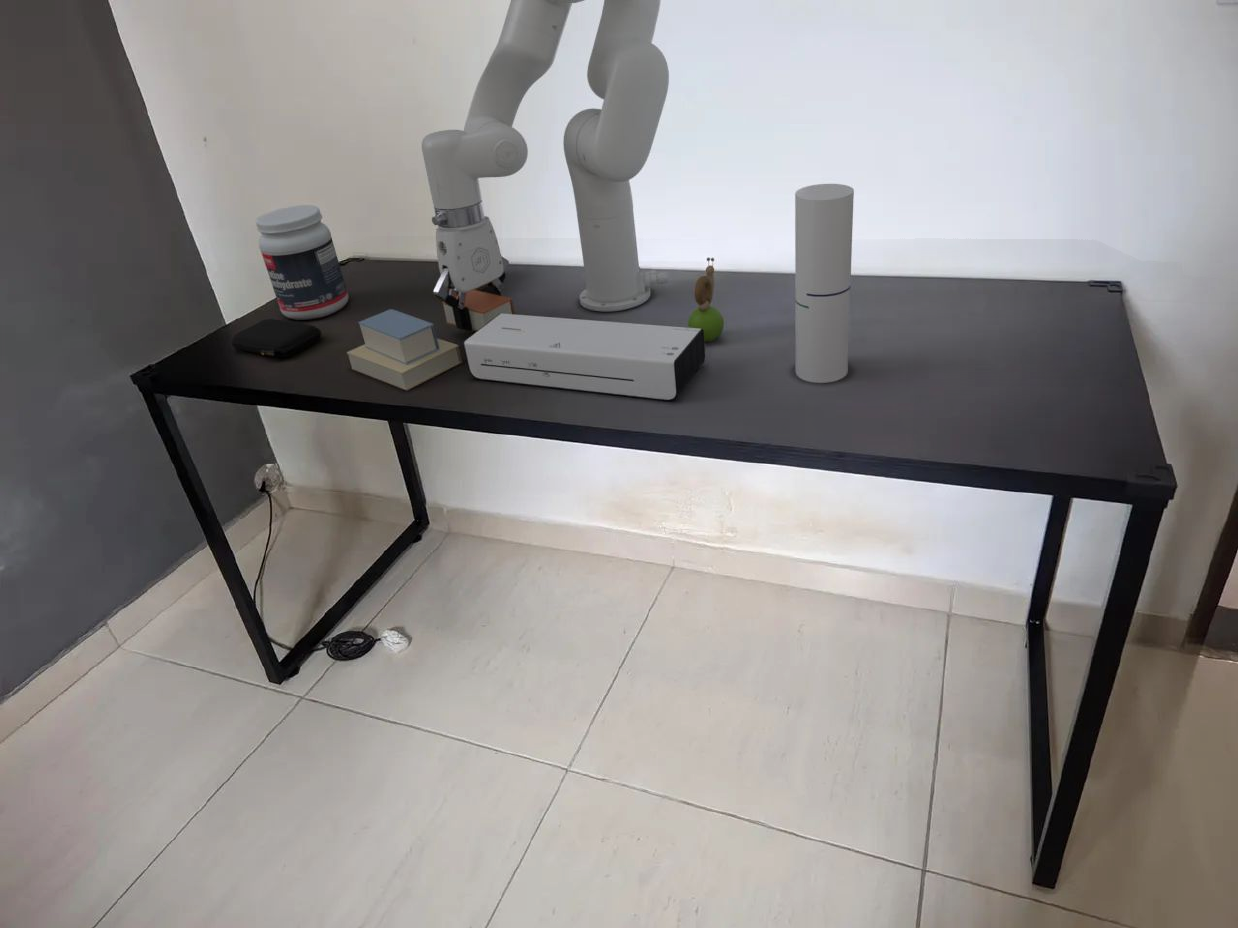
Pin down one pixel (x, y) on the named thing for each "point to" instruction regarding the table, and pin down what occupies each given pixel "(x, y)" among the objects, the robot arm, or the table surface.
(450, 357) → the cream hardcover
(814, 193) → the cylindrical container
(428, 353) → the grey blue book
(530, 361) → the laminator
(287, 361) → the table surface
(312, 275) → the supplement tub
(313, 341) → the carrying case
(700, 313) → the snail figurine
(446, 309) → the terracotta book
